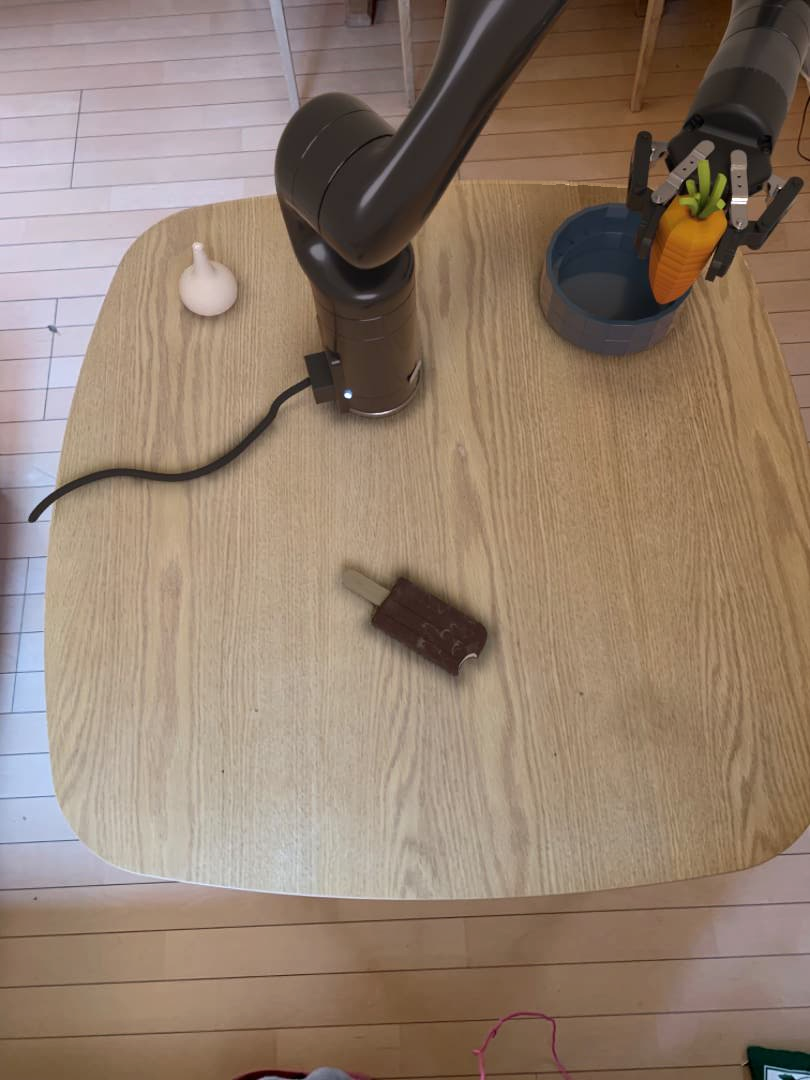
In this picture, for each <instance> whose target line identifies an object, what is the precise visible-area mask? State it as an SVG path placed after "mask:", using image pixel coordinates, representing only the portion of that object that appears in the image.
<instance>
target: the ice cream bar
mask: <svg viewBox="0 0 810 1080" xmlns="http://www.w3.org/2000/svg"><path fill="white" fill-rule="evenodd" d="M341 580H342V583H343V585H344V586H345V587H346V588H348V589H349V590H351V591H352V592H354V593H356V594H357V595H359V596H361V597H362V598H364V599H365V600H367V601H369V602H370V603H372V604H374V605H376V606H377V607H378V608H377V609H376V610H375V612H374V615H373V616H372V618H371V619H370V623H371V626H374V627H375V628H376V629H378V630H380V631H381V632H383V633H385V634H386V635H388V636H390V637H391V638H393V639H395V640H396V641H398V642H399V643H401V644H402V645H404V646H406V647H407V648H409V649H410V650H411V651H413V652H416V653H417V654H419V655H421V656H422V657H423V658H425V659H427V660H428V661H430V662H432V663H433V664H435V665H436V666H438V667H440V668H442V669H443V670H445V671H446V672H448V673H450V674H451V675H453V676H455V677H457V676H458V675H459V673H460V671H459V670H460V668H461V667H462V665H463V664H464V662H465V661H466V660H468V659H470V658H475V659H478V658H479V657H480V655H481V653H482V651H483V650H484V648H485V647H486V643H487V640H488V631H487V629H486V627H485V626H484V625H483V623H481V622H479V621H478V620H476V619H474V618H472V617H470V616H469V615H467V614H465V613H464V612H462V611H460V610H459V609H457V608H455V607H454V606H452V605H450V604H448V603H447V602H445V601H444V600H442V599H440V598H438V597H437V596H436V595H434V594H432V593H430V592H429V591H427V590H425V589H423V588H422V587H420V586H418V585H417V584H415V583H413V582H412V581H410V580H409V579H407V578H405V577H403V576H402V575H401V576H399V578H398V579H397V581H395V583H394V585H393V587H392V589H391V590H388V589H387V588H385V587H383V586H381V585H380V584H378V583H377V582H375V581H373V580H372V579H370V578H368V577H366V576H365V575H363V574H361V573H360V572H358V571H356V570H354V569H349V570H346V571H345V572H344V573H343V574H342V578H341Z"/></svg>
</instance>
